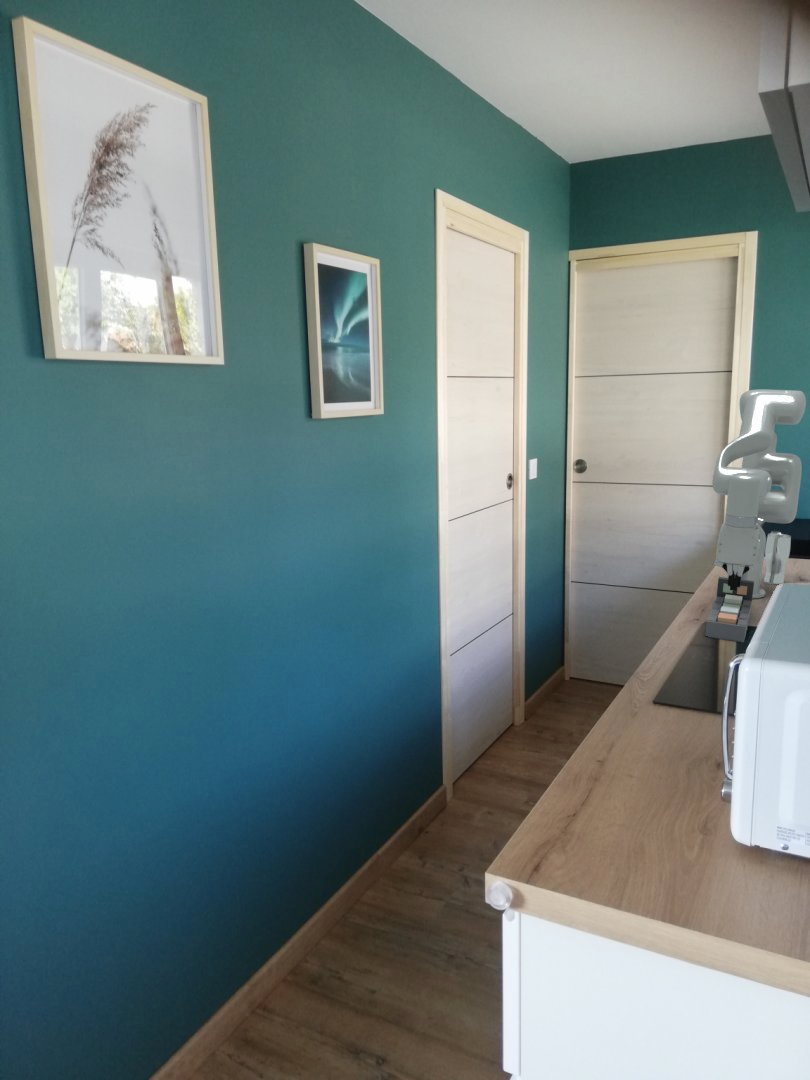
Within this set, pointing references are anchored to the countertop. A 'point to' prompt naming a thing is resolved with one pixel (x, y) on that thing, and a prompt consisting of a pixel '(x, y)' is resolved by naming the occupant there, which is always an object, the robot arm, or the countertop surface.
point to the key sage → (731, 606)
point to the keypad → (745, 590)
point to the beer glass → (776, 557)
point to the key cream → (733, 599)
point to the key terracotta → (727, 618)
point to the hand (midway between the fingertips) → (733, 589)
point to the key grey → (729, 610)
